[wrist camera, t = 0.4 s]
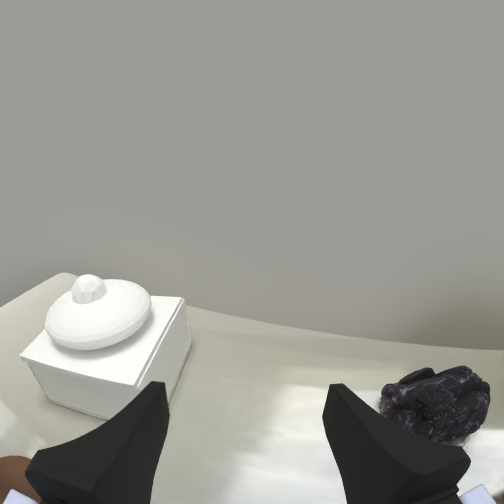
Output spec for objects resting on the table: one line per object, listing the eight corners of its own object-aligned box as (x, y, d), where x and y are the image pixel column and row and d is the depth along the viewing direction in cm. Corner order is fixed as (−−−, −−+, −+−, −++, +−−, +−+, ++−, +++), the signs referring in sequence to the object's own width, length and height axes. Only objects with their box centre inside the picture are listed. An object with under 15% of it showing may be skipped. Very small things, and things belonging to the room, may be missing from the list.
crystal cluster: (367, 388, 35) (378, 335, 31) (453, 373, 33) (474, 320, 29) (380, 475, 23) (404, 435, 19) (481, 448, 21) (520, 400, 17)
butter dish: (192, 343, 45) (177, 248, 39) (157, 435, 28) (114, 326, 23) (99, 333, 47) (75, 249, 41) (47, 403, 30) (-3, 306, 24)
